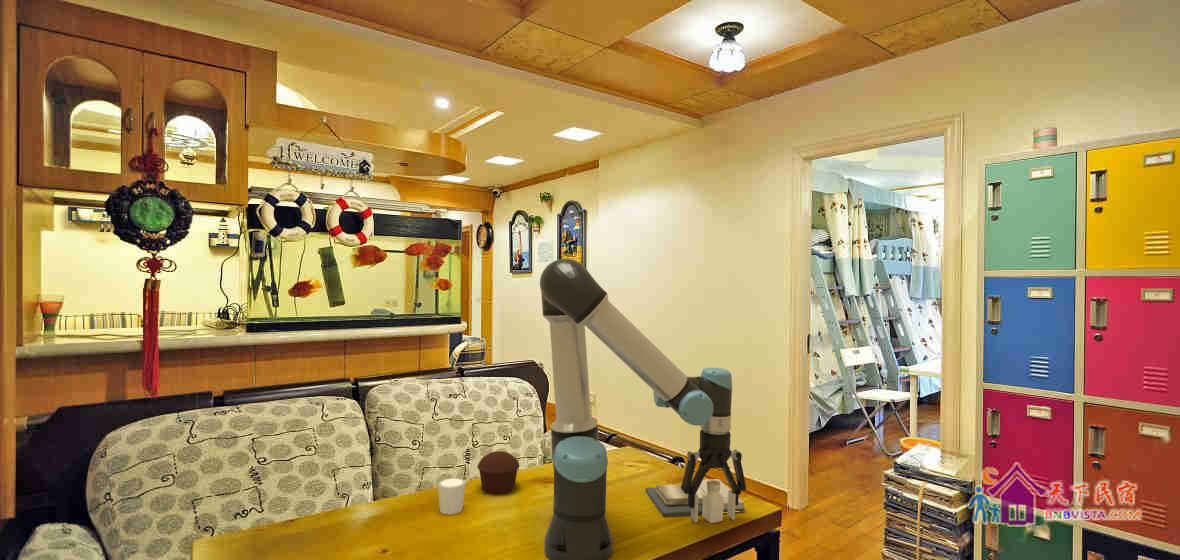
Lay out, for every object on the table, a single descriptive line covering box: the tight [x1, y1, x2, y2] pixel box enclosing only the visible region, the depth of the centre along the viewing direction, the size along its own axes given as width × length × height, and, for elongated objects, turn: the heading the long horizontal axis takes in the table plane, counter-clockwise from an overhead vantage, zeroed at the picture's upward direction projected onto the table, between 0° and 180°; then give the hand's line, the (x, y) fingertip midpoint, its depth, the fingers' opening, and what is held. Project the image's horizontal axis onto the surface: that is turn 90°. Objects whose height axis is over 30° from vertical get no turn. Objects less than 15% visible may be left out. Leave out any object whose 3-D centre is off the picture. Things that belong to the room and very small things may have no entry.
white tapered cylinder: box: [437, 477, 466, 515], centre depth 138 cm, size 7×7×7 cm
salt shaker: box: [702, 480, 724, 524], centre depth 136 cm, size 4×4×10 cm
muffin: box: [477, 451, 520, 496], centre depth 152 cm, size 12×11×10 cm
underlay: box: [644, 478, 745, 518], centre depth 147 cm, size 22×16×3 cm
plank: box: [655, 484, 705, 505], centre depth 146 cm, size 12×9×2 cm
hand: (712, 518), depth 136 cm, fingers open, 9 cm apart
